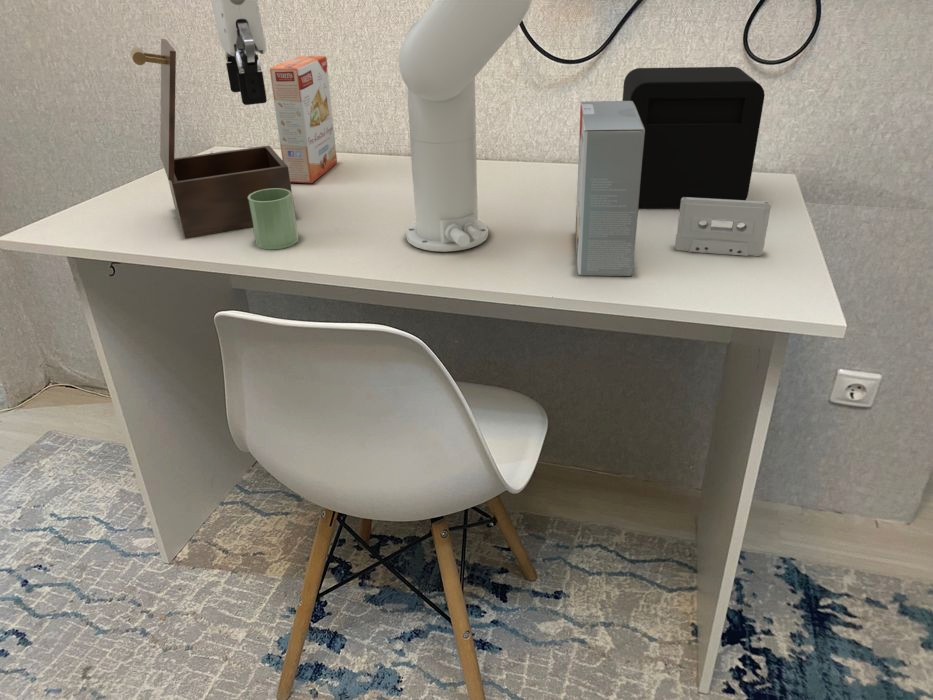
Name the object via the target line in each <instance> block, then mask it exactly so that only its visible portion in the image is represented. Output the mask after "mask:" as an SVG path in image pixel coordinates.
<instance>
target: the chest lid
mask: <svg viewBox="0 0 933 700" xmlns="http://www.w3.org/2000/svg"><path fill="white" fill-rule="evenodd" d="M130 56H131V58H132V61H133V62H134V63H135V64H136V65H137V66H143V65H145V64H146V63H152V64H158V65H159V64H160V131H159V132H160V133H159V134H160V137H159V139H160V140H159V141H160V142H159V143H160V144H159V146H160V149H159V156H160V160H161V163H162V166H163V168H164V171H165V174H166V177H167V180H170V181H174V158H175V150H176V149H175V144H176V143H175V141H176V140H175V139H176V129H175V128H176V82H177V81H176V80H177V79H176V77H177V76H176V74H177V73H176V71H177V51H176V50H175V48H174V47H173V46H172V45H171V43H170V42H169V41H168V39H167V38H160V54H159V53H150V52H144V50H143V49H141V48H140V47H137V46H136V47H133V48H131V49H130Z"/></svg>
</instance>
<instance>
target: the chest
mask: <svg viewBox="0 0 933 700" xmlns="http://www.w3.org/2000/svg"><path fill="white" fill-rule="evenodd" d="M231 150H232V151H227V150H224V151H225V152H219V151H217V152H218V153H215V152H213V153H203V154H196V155H189V156H181V157H174V181H170V180H168V179H167V180H168V184H169V189H170V193H171V197H172V201H173V206H174V210H175V213H176V216H177V220H178V222H179V225H180V228H181V231H182V234H183V237H184V239H189V238H193V237H194V238H195V237H200V236H206V235H211V234H219V233H223V232H230V231H235V230H241V229H246V228H253V225H252V219H251V214H250V209H249V203H248V198H247V197H248V196H249V194H251V193H253V192H255V191H259V190H263V189H270V188H281V189H287V190H290V191H291V193H292V194H293V191H292V185H291V183H292V182H290V177H289V170H288V166H287V165H286V164H285V163H284V162H283V160H282V157H280V156H279V155H278V153H277V152H276V151H275V150H274V149H273V148H272V147H271V145H263V146H255V147H247V148H242V149H231ZM292 198H293V199H294V196H293V195H292ZM293 205H294V206H295V203H294V202H293ZM294 211H295V212H296V210H295V209H294ZM295 218H296V219H297V215H295Z"/></svg>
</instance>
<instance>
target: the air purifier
mask: <svg viewBox="0 0 933 700" xmlns="http://www.w3.org/2000/svg"><path fill="white" fill-rule="evenodd" d="M622 88H623V89H622V100H621V101H633V103H634V104H635V106H636V109H637V111H638V114H639V116H640V119H641V121H642V124H643V126H644V129H645V135H644V146H643V157H642V168H641V180H640V192H639V204H638V209H680V204H681V198H683V197H691V198H709V199H728V200H746V201H747V199H748V197H749V192H750V186H751V179H752V175H753V167H754V162H755V155H756V149H757V144H758V139H759V133H760V126H761V120H762V114H763V107H764V102H765V89H764V87H763V86H762V85H761V84H760V83H759V82H758V81H756V80H755V79H754V78H753V77H752V76H750V75H749V74H748V73H746V72H745V71H744V70H742V69H741V68H740V67H737V66H694V67H692V66H689V67H685V66H684V67H683V66H681V67H636V68H633V69H632V70H630V71H629V72H628V73H627V74H626V76H625V78H624V80H623V87H622Z"/></svg>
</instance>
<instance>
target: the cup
mask: <svg viewBox="0 0 933 700" xmlns="http://www.w3.org/2000/svg"><path fill="white" fill-rule="evenodd" d="M292 196H293V192H292V193H291V191H290V190H287V189H281V188H270V189H263V190H259V191H255V192H253V193H251V194H249V196H248V197H247V198H248V203H249V209H250V214H251V219H252V225H253V227H252V229H253V234H254V240H255V245H256V246H257V247H258V248H259V249H263V250H270V251H271V250H283V249H287V248H289V247H291V246H292V247H293V246H294V245H296V244H297V243H298V241H299V231H298V226H297V225H298V224H297V217H296V218H295V216H296V210H295V204H294V205H293V203H294V197H293V198H292ZM294 210H295V211H294Z"/></svg>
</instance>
